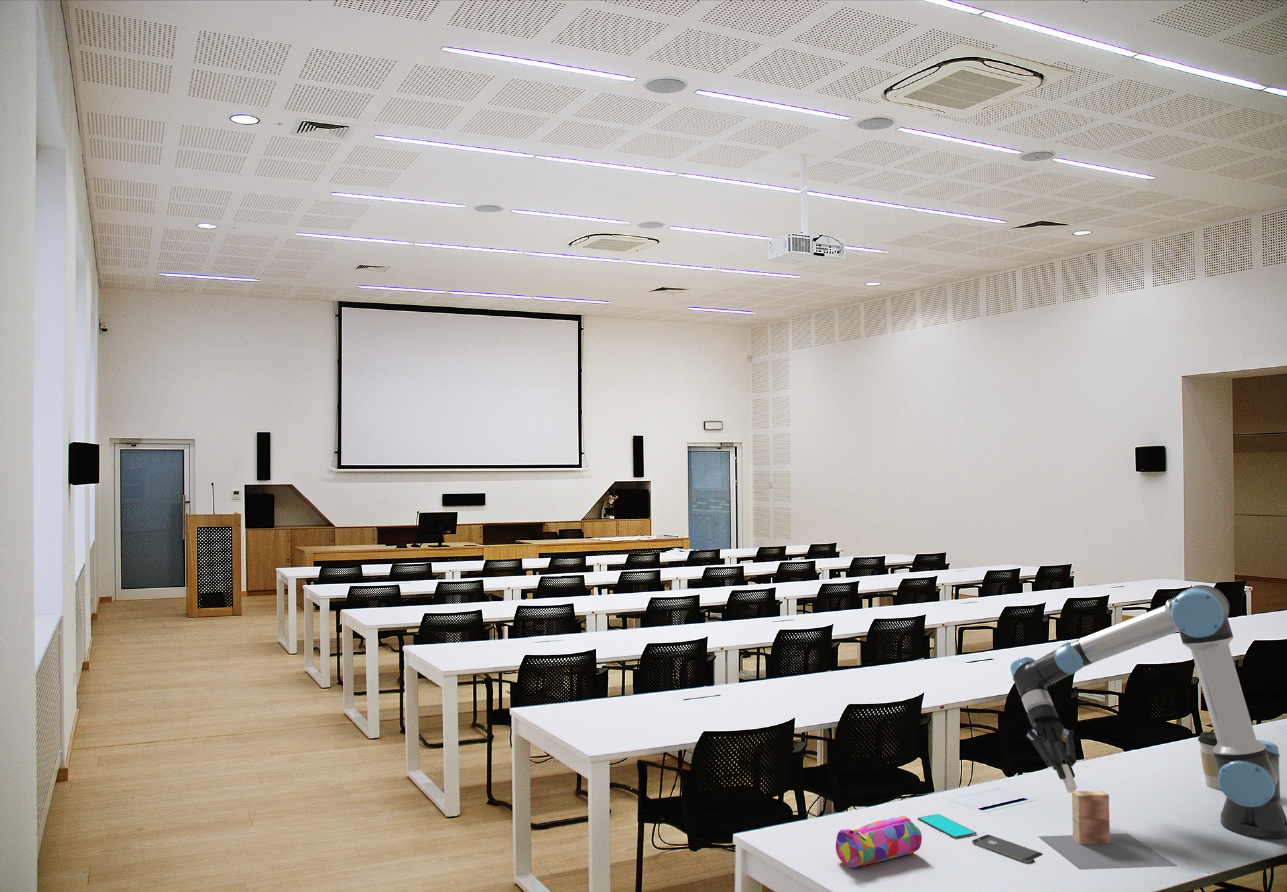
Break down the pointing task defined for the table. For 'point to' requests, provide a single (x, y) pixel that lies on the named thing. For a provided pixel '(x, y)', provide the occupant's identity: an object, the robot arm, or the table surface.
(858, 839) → the pencil case
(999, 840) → the phone
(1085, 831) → the oak block
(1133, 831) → the table surface
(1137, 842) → the rubber mat
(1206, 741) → the coffee cup
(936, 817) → the smartphone
